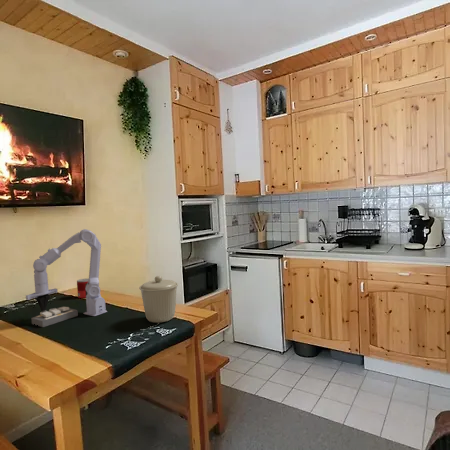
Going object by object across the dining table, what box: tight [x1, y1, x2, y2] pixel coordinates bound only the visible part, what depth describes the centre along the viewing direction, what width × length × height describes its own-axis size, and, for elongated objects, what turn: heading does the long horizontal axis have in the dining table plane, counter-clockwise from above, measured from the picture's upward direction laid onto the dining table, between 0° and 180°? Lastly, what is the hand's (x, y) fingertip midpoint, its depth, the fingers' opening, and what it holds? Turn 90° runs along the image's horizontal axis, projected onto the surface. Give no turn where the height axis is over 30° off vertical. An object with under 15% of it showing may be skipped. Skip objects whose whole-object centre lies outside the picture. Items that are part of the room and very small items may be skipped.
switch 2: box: [48, 307, 61, 315], centre depth 167 cm, size 5×3×1 cm, turn 57°
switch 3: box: [57, 306, 70, 311], centre depth 171 cm, size 5×3×1 cm, turn 57°
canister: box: [139, 275, 179, 324], centre depth 160 cm, size 18×18×21 cm
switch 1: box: [39, 310, 52, 317], centre depth 163 cm, size 5×3×1 cm, turn 57°
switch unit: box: [31, 307, 79, 328], centre depth 167 cm, size 10×18×3 cm, turn 147°
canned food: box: [76, 278, 89, 300], centre depth 210 cm, size 8×8×11 cm
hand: (43, 310), depth 164 cm, fingers closed
